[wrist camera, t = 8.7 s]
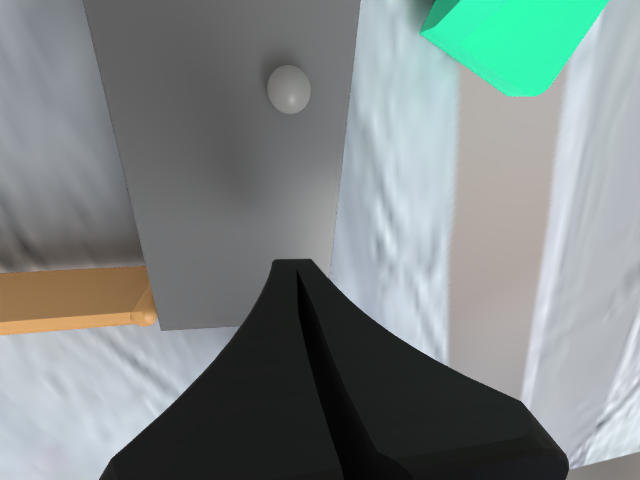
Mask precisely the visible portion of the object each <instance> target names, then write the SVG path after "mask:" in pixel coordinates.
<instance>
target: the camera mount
mask: <svg viewBox="0 0 640 480" xmlns="http://www.w3.org/2000/svg"><path fill="white" fill-rule="evenodd" d="M608 1H609V0H435V2H434V4H433V6H432V8H431V10H430V12H429V14H428V16H427V18H426V20H425V22H424V24H423V26H422V28H421V30H420V32H419V34H421V35H422V36H424V37H425V38H426V39H428V40H429V41H431V42H432V43H433V44H435V45H436V46H438V47H439V48H440V49H442V50H443V51H445V52H446V53H447V54H449V55H450V56H451V57H453V58H454V59H456V60H457V61H458V62H460V63H461V64H463V65H464V66H465V67H467V68H469V69H470V70H471V71H472V72H474V73H475V74H477V75H478V76H480V77H481V78H482V79H484V80H485V81H486V82H488V83H489V84H491V85H492V86H494V87H495V88H496V89H498V90H499V91H500V92H502V93H503V94H505V95H507V96H537V95H539V94H542V93H543V92H544V91H546V90H547V89H548V88H549V86H550V85H551V84H552V82H553V81H554V80H555V78H556V77H557V75H558V74H559V72H560V71H561V70H562V68H563V67H564V65H565V64H566V62H567V61H568V59H569V58H570V57H571V55H572V54H573V52H574V51H575V49H576V48H577V46H578V45H579V43H580V42H581V41H582V39H583V38H584V36H585V35H586V33H587V32H588V30H589V29H590V27H591V26H592V25H593V23H594V22H595V20H596V19H597V17H598V16H599V14H600V13H601V11H602V10H603V9H604V7H605V6H606V4H607V3H608Z"/></svg>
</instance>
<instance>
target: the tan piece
mask: <svg viewBox="0 0 640 480" xmlns="http://www.w3.org/2000/svg"><path fill="white" fill-rule="evenodd" d="M157 316H158V315H157V311H156V307H155V303H154V298H153V294H152V290H151V286H150V281H149V277H148V273H147V269H146V266H134V267H114V268H94V269H75V270H55V271H35V272H16V273H0V335H9V334H21V333H33V332H45V331H57V330H69V329H81V328H94V327H106V326H118V325H130V324H137V325H140V326H149V325H152V324H153V323H154V322H155V320H156V318H157Z"/></svg>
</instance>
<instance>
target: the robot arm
mask: <svg viewBox="0 0 640 480" xmlns="http://www.w3.org/2000/svg"><path fill="white" fill-rule="evenodd" d="M568 471H569V462H568V459H567V456H566V454H565V453H564V452H563V451H562V449H561V448H560V447H559V446H558V445H557V443H556V442H555V441H554V440H553V439H552V437H551V436H550V435H549V434H548V433H547V431H546V430H545V429H544V428H543V427H542V425H541V424H540V423H539V422H538V421H537V419H536V418H535V417H534V416H533V415H532V413H531V412H530V411H529V410H528V409H527V408H526V406H525V405H524V404H523V403H522V402H521V401H519V400H517V399H515V398H512V397H510V396H508V395H506V394H504V393H502V392H499V391H497V390H495V389H493V388H491V387H488V386H486V385H484V384H482V383H479V382H478V381H475V380H473V379H471V378H469V377H467V376H465V375H462V374H461V373H459V372H457V371H455V370H453V369H451V368H449V367H448V366H446V365H444V364H442V363H440V362H438V361H436V360H434V359H433V358H431V357H429V356H427V355H426V354H424V353H422V352H420V351H419V350H417V349H416V348H414V347H412V346H411V345H409V344H408V343H406V342H404V341H403V340H401V339H400V338H398V337H397V336H395V335H394V334H392V333H391V332H389V331H388V330H386V329H385V328H384V327H382V326H381V325H380V324H378V323H377V322H376V321H374V320H373V319H372V318H370V317H369V316H368V315H366V314H365V313H364V312H363V311H362V310H360V309H359V308H358V307H357V306H356V305H355V304H354V303H352V302H351V301H350V300H349V299H348V298H347V297H346V296H345V295H344V294H343V293H342V292H341V291H340V290H339V289H338V288H337V287H336V286H335V285H334V284H333V283H332V282H331V281H330V280H329V278H328V277H327V276H326V275H325V274H324V273H323V272H322V271H321V269H320V268H319V267H318V266H317V265H316V264H315V262H314V261H313V260H312V259H275V260H274V261H273V262H272V266H271V270H270V273H269V276H268V279H267V281H266V283H265V285H264V287H263V290H262V292H261V294H260V296H259V298H258V299H257V301H256V303H255V304H254V306H253V308H252V310H251V311H250V313H249V315H248V316H247V318H246V319H245V321H244V322H243V324H242V325H241V327H240V328H239V329H238V331H237V332H236V334H235V335H234V336H233V338H232V339H231V340H230V341H229V343H228V344H227V345H226V346H225V348H224V349H223V350H222V351H221V352H220V354H219V355H218V356H217V357H216V359H215V360H214V361H213V362H212V363H211V364H210V365H209V367H208V368H207V369H206V370H205V371H204V372H203V373H202V374H201V375H200V376H199V377H198V378H197V379H196V380H195V381H194V382H193V383H192V384H191V385H190V386H189V387H188V388H187V389H186V390H185V392H184V393H183V394H182V395H181V396H180V397H179V398H178V399H177V400H176V401H175V402H174V403H173V404H172V405H171V406H170V407H168V408H167V409H166V410H165V411H164V412H163V413H162V414H161V415H160V416H159V417H158V418H156V419H155V420H154V421H153V422H152V423H151V424H150V425H149V426H148V427H146V428H145V429H144V430H143V431H142V432H141V433H140V434H139V435H138V436H136V437H135V438H134V439H133V440H132V441H131V442H130V443H129V444H127V445H126V446H125V447H124V448H123V449H122V450H121V451H120V452H118V453H117V454H116V455H115V456H114V457H113V458H112V459H111V460H110V462H109V463H108V465H107V467H106V468H105V470H104V472H103V474H102V475H101V477H100V479H99V480H565V479H566V477H567V474H568Z"/></svg>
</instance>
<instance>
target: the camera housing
mask: <svg viewBox="0 0 640 480" xmlns="http://www.w3.org/2000/svg"><path fill="white" fill-rule="evenodd" d="M360 1H361V0H83V3H84V8H85V12H86V16H87V20H88V24H89V29H90V33H91V37H92V41H93V45H94V50H95V54H96V58H97V62H98V67H99V71H100V75H101V79H102V83H103V88H104V92H105V96H106V100H107V104H108V109H109V113H110V117H111V121H112V126H113V130H114V134H115V138H116V142H117V147H118V151H119V155H120V159H121V163H122V168H123V172H124V176H125V180H126V185H127V189H128V193H129V197H130V201H131V206H132V210H133V214H134V218H135V222H136V227H137V231H138V235H139V239H140V244H141V248H142V252H143V256H144V260H145V265H146V269H147V273H148V277H149V281H150V286H151V290H152V294H153V298H154V303H155V307H156V311H157V315H158V319H159V324H160V328H161V331H167V330H182V329H198V328H214V327H230V326H241V325H242V324H243V322H244V321H245V319H246V318H247V316H248V315H249V313H250V311H251V310H252V308H253V306H254V304H255V303H256V301H257V299H258V298H259V296H260V294H261V292H262V290H263V287H264V285H265V283H266V281H267V279H268V276H269V273H270V270H271V266H272V262H273V261H274V260H275V259H312V260H313V261H314V262H315V264H316V265H317V266H318V267H319V268H320V269H321V271H322V272H323V273H324V274H325V275H326V276H327V277H328V278H329V276H330V267H331V258H332V250H333V241H334V232H335V223H336V214H337V205H338V196H339V187H340V179H341V170H342V161H343V152H344V143H345V134H346V125H347V117H348V108H349V99H350V90H351V81H352V72H353V63H354V55H355V46H356V37H357V28H358V19H359V10H360Z"/></svg>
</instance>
